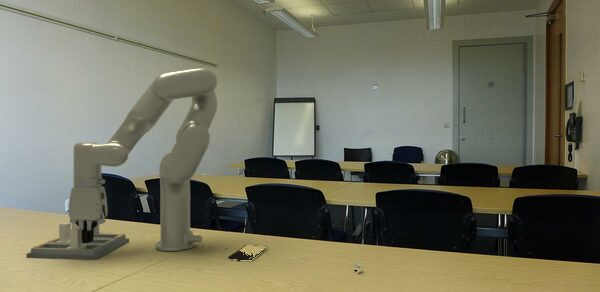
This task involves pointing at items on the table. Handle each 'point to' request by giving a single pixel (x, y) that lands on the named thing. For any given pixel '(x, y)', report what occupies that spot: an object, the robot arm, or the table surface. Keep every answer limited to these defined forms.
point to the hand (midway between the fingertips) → (87, 242)
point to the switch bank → (93, 250)
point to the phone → (240, 255)
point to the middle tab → (64, 232)
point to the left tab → (76, 239)
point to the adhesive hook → (357, 265)
